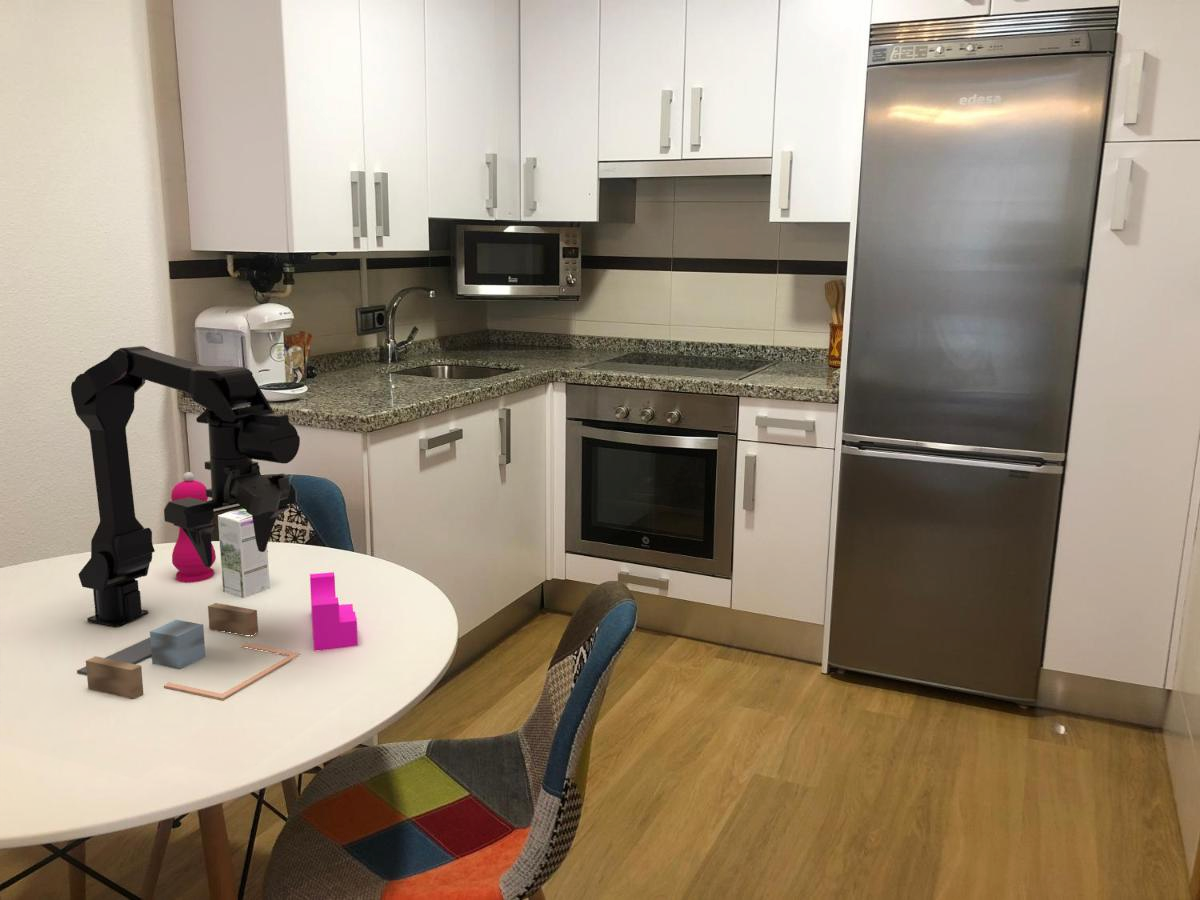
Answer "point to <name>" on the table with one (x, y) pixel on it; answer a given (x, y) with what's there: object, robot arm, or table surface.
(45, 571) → the table surface
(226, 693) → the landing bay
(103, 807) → the table surface
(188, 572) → the pepper mill
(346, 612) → the toy block
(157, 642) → the cube
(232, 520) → the syrup box
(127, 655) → the grey flat board
